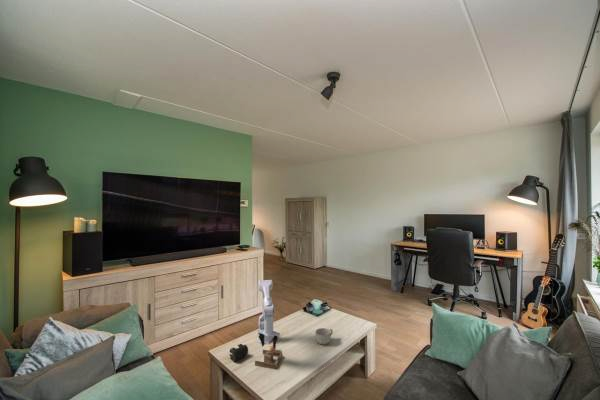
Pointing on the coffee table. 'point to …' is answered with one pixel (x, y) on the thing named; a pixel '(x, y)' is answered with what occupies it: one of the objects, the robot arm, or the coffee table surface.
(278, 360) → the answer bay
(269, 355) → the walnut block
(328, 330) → the teacup
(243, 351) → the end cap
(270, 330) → the robot arm
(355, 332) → the coffee table surface
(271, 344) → the tan rounded capsule
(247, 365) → the coffee table surface
